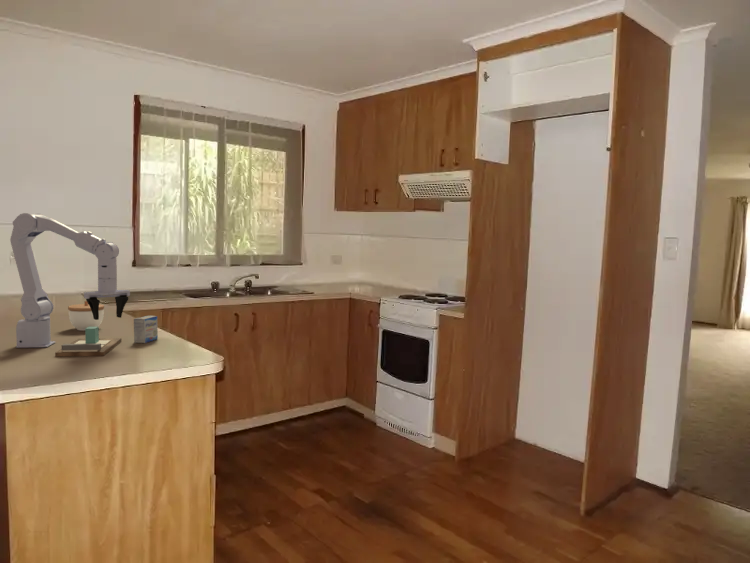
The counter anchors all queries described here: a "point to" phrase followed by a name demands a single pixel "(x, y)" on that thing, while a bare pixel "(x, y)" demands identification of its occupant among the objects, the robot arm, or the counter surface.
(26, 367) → the counter surface
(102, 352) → the board
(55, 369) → the counter surface
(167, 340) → the counter surface
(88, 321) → the lidded bowl
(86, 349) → the grey flat block
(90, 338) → the cream plaque with block
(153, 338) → the medicine box
